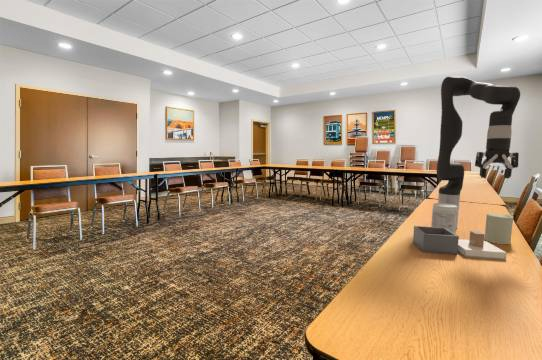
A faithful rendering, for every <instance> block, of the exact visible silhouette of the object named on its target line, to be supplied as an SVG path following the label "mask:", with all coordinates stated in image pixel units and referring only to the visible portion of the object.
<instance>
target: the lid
mask: <svg viewBox="0 0 542 360" xmlns="http://www.w3.org/2000/svg"><path fill="white" fill-rule="evenodd" d="M484 237H485V233H483V232H481V231H479V230H476V231H475V230H469V239H458V251H459V252H458V251H457V252H458V253H460V252H461V253H462V254H464V255H465V256H479V257H492V258H505V259H506V260H507V252H506V251H505V250H502V249H501V248H499V247H497V246H496V245H494V244H493V243H491V242H488V241H485V240H484ZM461 253H460V254H461ZM462 254H461V255H462ZM464 255H463V256H464ZM465 256H464V257H465Z"/></svg>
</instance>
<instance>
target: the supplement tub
mask: <svg viewBox="0 0 542 360" xmlns="http://www.w3.org/2000/svg"><path fill="white" fill-rule="evenodd" d="M431 212H432V213H431V226H430V227H439V228H446V229H448V230H449V231H451V232H453V233H454V234H456V219H457V206H456V205H453V204H446V203H438V202H435V203H433V204H432V211H431Z"/></svg>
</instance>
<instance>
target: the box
mask: <svg viewBox="0 0 542 360" xmlns="http://www.w3.org/2000/svg"><path fill="white" fill-rule="evenodd" d="M412 237H413V238H412V242H413V244H414V245H415V246H416V247H417V249H419V250H420V251H421V252H422V253H430V254H431V253H432V254H434V253H435V254H446V255H458V239H459V238H460V236H459V235H457V233H455V234H454V233H453V232H451V231H449V230H448V229H446V228H439V227H431V226H423V225H422V226H419V225H414V226H413V236H412Z"/></svg>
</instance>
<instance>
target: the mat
mask: <svg viewBox="0 0 542 360" xmlns="http://www.w3.org/2000/svg"><path fill="white" fill-rule="evenodd" d="M457 253H460V254H461V255H462V256H464V257H465V258H477V259H489V260H501V261H503V260H504V261H506V260H507V258H506V259H505V258H492V257H479V256H465V255H464V254H462V253H461V252H459V251H457Z"/></svg>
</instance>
